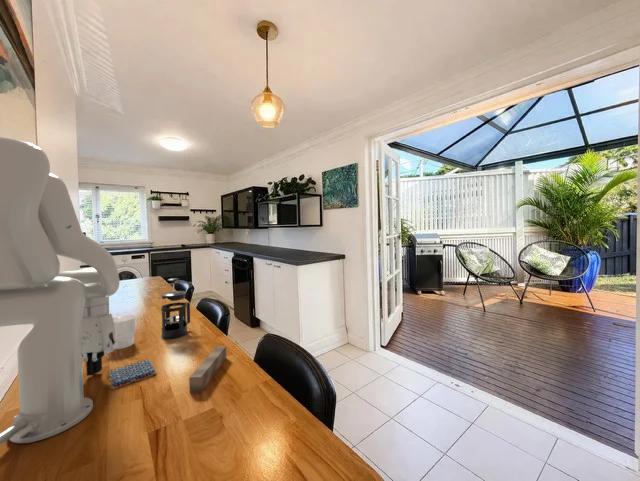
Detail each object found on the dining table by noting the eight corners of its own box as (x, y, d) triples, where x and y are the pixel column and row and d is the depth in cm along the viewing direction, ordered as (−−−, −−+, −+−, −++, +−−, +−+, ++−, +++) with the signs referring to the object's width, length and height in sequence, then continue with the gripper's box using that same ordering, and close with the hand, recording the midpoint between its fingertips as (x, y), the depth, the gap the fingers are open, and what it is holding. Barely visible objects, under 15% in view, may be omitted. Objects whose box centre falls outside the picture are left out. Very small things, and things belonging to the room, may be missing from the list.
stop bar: (201, 392, 65) (201, 377, 65) (189, 392, 65) (189, 377, 65) (226, 358, 83) (226, 345, 83) (217, 358, 83) (216, 346, 83)
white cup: (121, 351, 88) (120, 323, 88) (103, 349, 90) (102, 321, 90) (141, 341, 96) (140, 315, 96) (124, 340, 98) (123, 314, 97)
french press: (168, 341, 96) (167, 281, 95) (154, 337, 100) (152, 279, 100) (196, 331, 106) (195, 276, 106) (182, 327, 111) (180, 275, 110)
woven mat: (150, 363, 81) (149, 357, 81) (157, 376, 73) (157, 369, 73) (107, 376, 74) (107, 369, 74) (111, 392, 66) (111, 384, 66)
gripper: (52, 314, 69) (55, 381, 69) (107, 314, 69) (110, 379, 70) (78, 306, 76) (80, 366, 77) (128, 306, 77) (130, 365, 77)
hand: (94, 372), depth 73 cm, fingers closed
